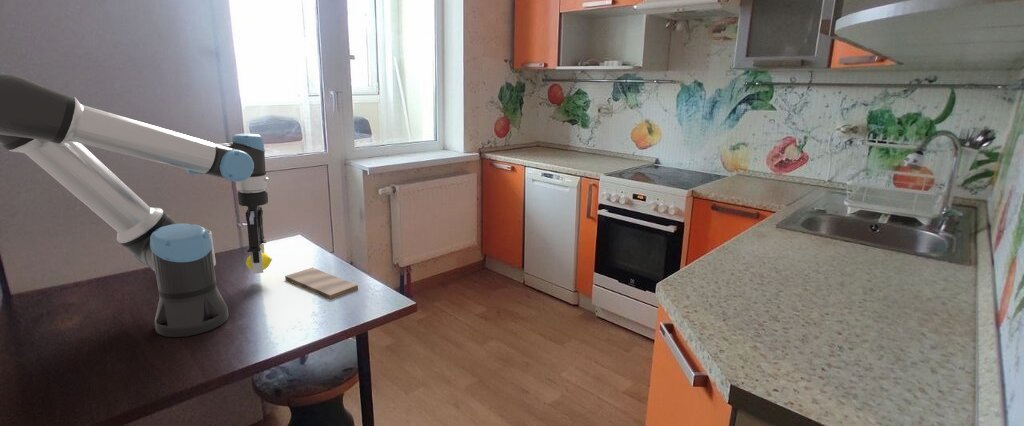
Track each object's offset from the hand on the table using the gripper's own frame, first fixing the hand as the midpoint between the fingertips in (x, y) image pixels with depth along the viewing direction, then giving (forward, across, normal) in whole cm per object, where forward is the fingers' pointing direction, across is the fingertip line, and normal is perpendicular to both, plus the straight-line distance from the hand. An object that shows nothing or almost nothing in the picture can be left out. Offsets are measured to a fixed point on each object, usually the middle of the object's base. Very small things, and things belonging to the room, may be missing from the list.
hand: (259, 269), depth 148 cm
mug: (+4, +19, +20) cm, 29 cm away
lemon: (+1, 0, 0) cm, 1 cm away
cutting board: (+4, -7, -17) cm, 18 cm away
